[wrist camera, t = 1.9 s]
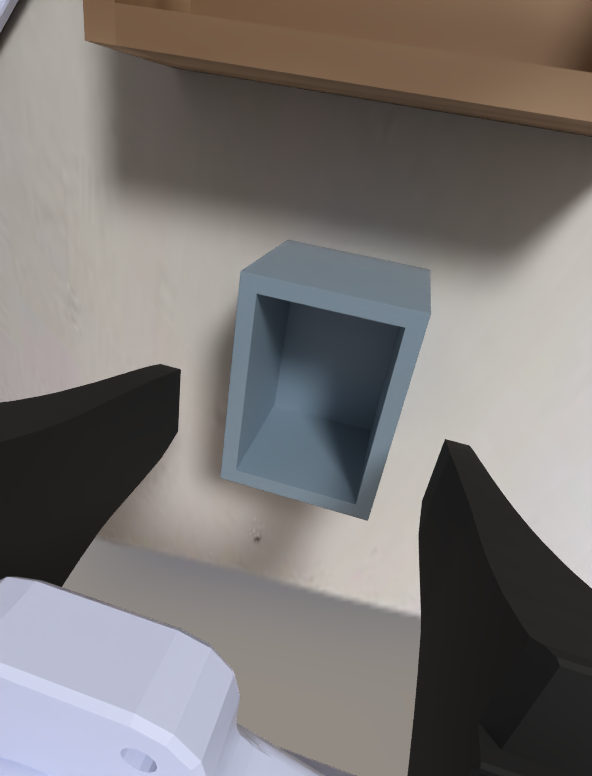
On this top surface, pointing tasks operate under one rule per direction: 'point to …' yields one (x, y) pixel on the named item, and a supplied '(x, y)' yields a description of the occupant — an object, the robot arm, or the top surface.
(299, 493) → the small crate
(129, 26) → the big crate
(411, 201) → the top surface
